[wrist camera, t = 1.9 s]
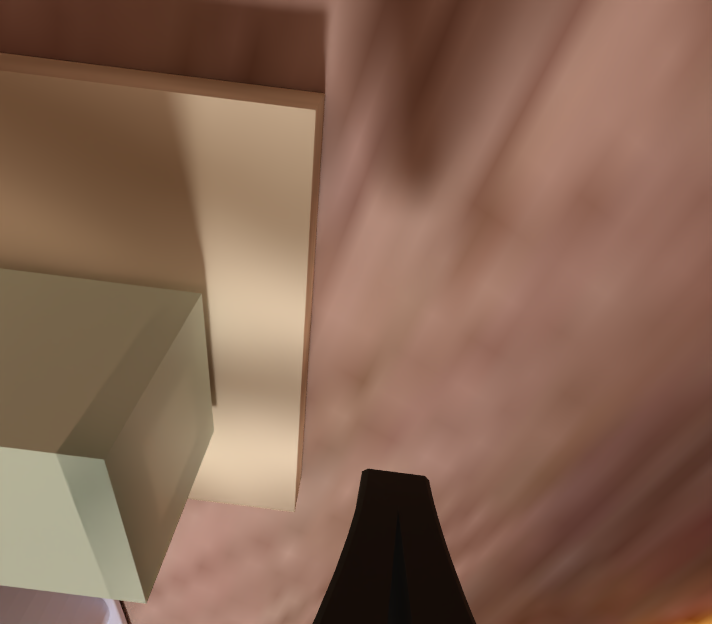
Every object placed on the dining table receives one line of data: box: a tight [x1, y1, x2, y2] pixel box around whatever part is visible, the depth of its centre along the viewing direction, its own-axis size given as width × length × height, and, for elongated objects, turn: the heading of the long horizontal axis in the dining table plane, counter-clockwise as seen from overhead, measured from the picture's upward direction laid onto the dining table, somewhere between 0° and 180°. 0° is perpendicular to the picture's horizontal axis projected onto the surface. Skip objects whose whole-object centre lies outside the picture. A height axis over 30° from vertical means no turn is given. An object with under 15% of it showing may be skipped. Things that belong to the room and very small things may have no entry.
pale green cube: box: [0, 268, 214, 603], centre depth 12 cm, size 5×6×5 cm
